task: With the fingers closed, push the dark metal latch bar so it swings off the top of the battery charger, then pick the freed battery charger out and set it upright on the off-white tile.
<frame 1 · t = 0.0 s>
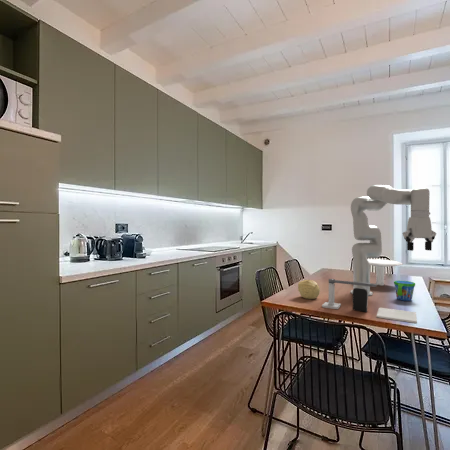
hand: (419, 250, 146), 31 cm above the table, tool pointing down, fingers open, 9 cm apart
tile pad: (396, 315, 147), on the table
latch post: (331, 306, 162), on the table
latch bar: (351, 283, 157), point 13 cm above the table, hinge at 0.0°
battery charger: (360, 310, 155), on the table
snack cup: (404, 300, 177), on the table
yellow round lump: (309, 298, 180), on the table
table 2: (380, 284, 219), on the table
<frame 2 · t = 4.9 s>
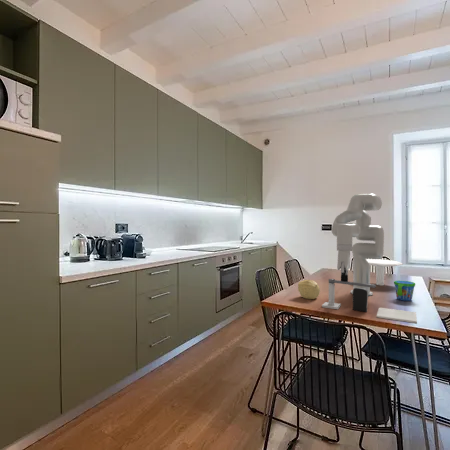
hand: (344, 282, 160), 13 cm above the table, tool pointing down, fingers closed
latch bar: (350, 283, 156), point 13 cm above the table, hinge at 6.9°, touching gripper
everything else where it was.
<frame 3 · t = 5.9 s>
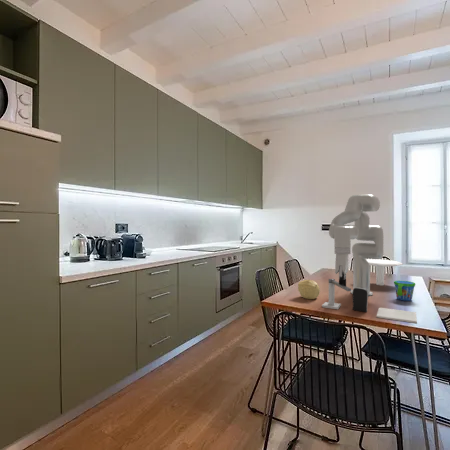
hand: (342, 286, 155), 12 cm above the table, tool pointing down, fingers closed
latch bar: (339, 284, 152), point 13 cm above the table, hinge at 57.3°, touching gripper
everything else where it was.
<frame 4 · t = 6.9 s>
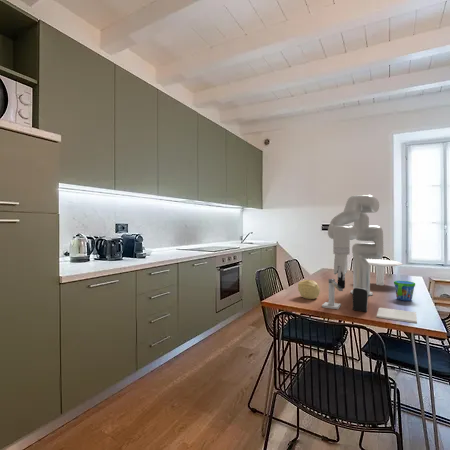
hand: (341, 288, 151), 12 cm above the table, tool pointing down, fingers closed
latch bar: (335, 284, 152), point 13 cm above the table, hinge at 67.6°, touching gripper
everything else where it was.
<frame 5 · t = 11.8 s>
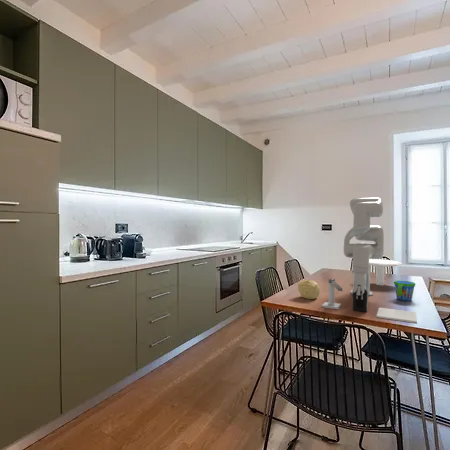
hand: (360, 305, 155), 2 cm above the table, tool pointing down, fingers closed on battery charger, 3 cm apart
latch bar: (335, 284, 152), point 13 cm above the table, hinge at 68.1°
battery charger: (360, 310, 155), on the table, touching gripper
everything else where it was.
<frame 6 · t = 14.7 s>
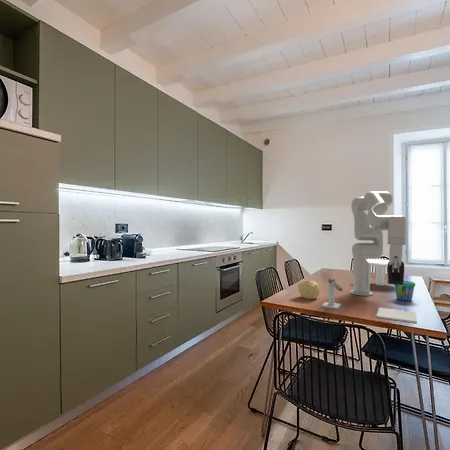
hand: (395, 279, 147), 17 cm above the table, tool pointing down, fingers closed on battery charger, 3 cm apart
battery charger: (395, 284, 147), point 15 cm above the table, touching gripper
everything else where it was.
when the fingers open (5 cm above the table, at t = 17.7 s): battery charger drops 2 cm, resting on tile pad.
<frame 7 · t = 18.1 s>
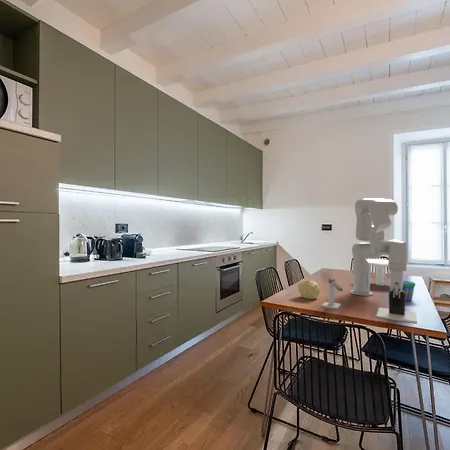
hand: (396, 303, 146), 6 cm above the table, tool pointing down, fingers open, 7 cm apart
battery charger: (396, 313, 147), point 1 cm above the table, touching tile pad
everything else where it was.
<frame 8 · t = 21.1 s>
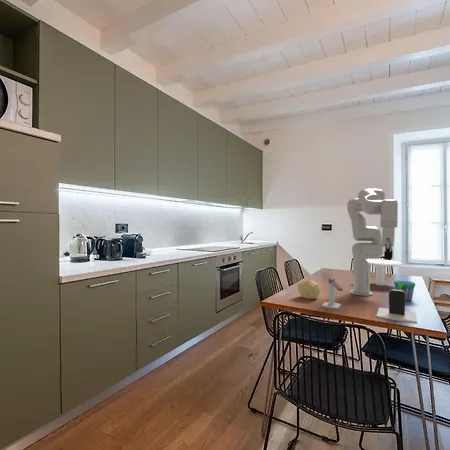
hand: (388, 258, 153), 26 cm above the table, tool pointing down, fingers open, 9 cm apart
nothing on the table moved.
at the end: latch bar at +68° (first picture: +0°); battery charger inside the target area on the tile pad (0.7 cm from its centre), point 0.6 cm above the tile pad's base; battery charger tilted 0° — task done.
